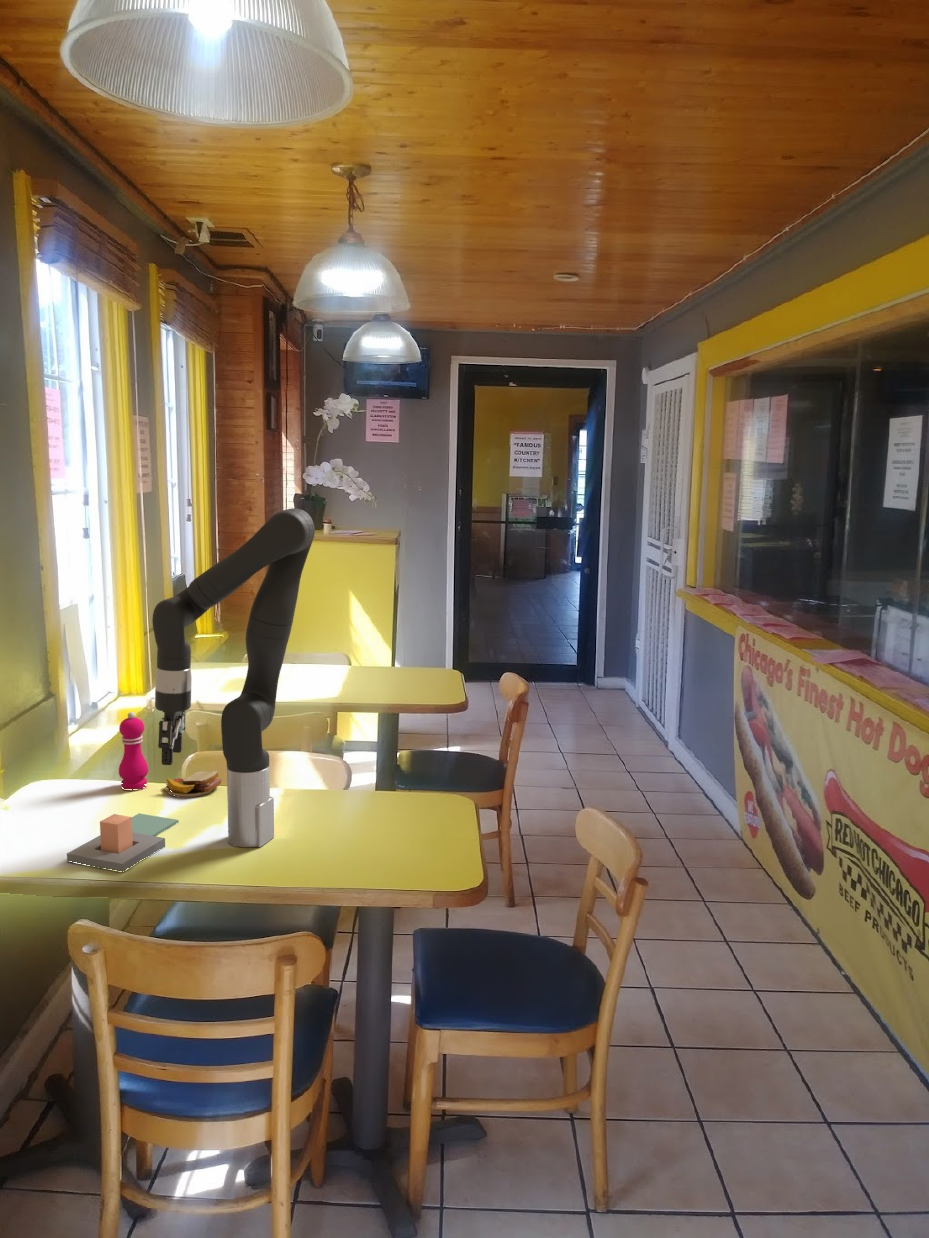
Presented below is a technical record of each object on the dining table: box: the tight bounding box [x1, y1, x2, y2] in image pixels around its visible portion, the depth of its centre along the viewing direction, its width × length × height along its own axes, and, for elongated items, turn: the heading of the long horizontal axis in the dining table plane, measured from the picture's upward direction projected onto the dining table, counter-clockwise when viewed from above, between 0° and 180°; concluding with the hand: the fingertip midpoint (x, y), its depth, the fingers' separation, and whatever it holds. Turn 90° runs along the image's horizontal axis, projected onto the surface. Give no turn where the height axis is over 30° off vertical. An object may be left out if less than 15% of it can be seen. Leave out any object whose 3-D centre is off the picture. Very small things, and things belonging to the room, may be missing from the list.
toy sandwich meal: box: [164, 770, 222, 798], centre depth 234 cm, size 12×14×5 cm
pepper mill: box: [118, 711, 149, 790], centre depth 234 cm, size 7×7×20 cm
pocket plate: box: [66, 832, 166, 872], centre depth 196 cm, size 14×14×2 cm
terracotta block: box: [99, 813, 133, 854], centre depth 195 cm, size 4×4×8 cm
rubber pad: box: [131, 812, 179, 837], centre depth 210 cm, size 11×11×1 cm
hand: (171, 758), depth 203 cm, fingers open, 8 cm apart
